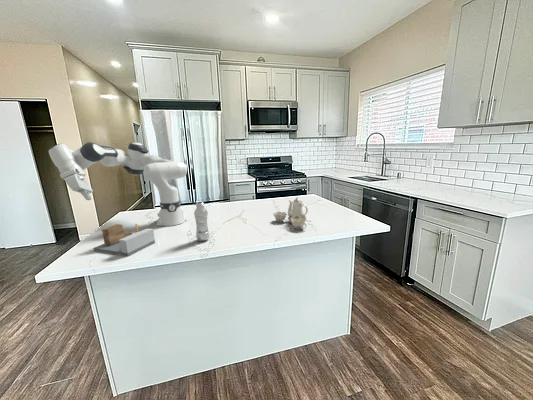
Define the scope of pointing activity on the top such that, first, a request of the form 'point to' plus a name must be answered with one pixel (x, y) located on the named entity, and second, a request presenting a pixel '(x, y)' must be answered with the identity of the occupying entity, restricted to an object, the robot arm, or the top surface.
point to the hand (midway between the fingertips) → (89, 199)
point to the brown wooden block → (114, 234)
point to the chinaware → (293, 214)
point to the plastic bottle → (201, 222)
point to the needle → (136, 228)
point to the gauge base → (117, 249)
